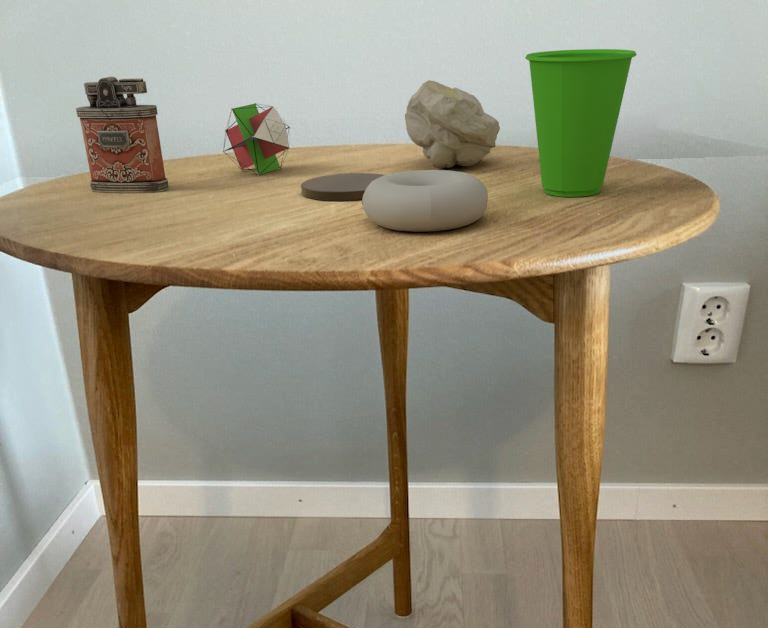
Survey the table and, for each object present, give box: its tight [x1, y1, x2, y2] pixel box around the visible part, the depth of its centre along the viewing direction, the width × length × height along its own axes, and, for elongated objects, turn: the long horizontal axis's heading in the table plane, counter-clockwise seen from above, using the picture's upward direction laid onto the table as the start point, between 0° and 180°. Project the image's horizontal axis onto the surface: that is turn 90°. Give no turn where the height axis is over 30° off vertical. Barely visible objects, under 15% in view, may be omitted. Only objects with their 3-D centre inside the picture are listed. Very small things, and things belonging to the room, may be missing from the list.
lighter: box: [75, 76, 170, 194], centre depth 88 cm, size 8×3×10 cm, turn 76°
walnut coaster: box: [300, 172, 385, 202], centre depth 85 cm, size 9×9×1 cm
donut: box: [361, 169, 489, 233], centre depth 72 cm, size 10×4×10 cm
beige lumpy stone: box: [404, 79, 501, 169], centre depth 93 cm, size 12×8×10 cm
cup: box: [524, 48, 637, 198], centre depth 78 cm, size 9×9×11 cm
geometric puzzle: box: [222, 102, 291, 177], centre depth 94 cm, size 7×7×8 cm
